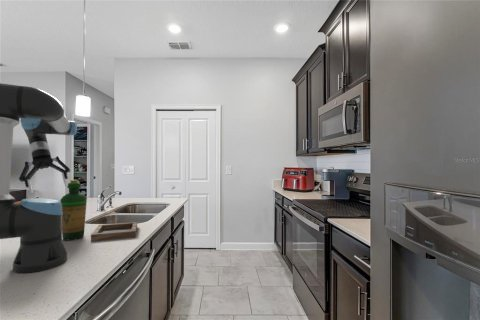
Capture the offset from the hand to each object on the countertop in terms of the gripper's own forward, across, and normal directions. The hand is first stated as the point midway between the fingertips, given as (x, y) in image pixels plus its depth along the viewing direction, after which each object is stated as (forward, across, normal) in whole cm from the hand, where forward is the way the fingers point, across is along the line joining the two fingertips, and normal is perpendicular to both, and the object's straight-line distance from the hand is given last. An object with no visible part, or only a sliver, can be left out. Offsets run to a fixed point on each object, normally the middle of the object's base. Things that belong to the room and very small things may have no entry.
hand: (49, 188), depth 119 cm
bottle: (+27, -4, -3) cm, 28 cm away
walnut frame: (+32, -22, -2) cm, 39 cm away
